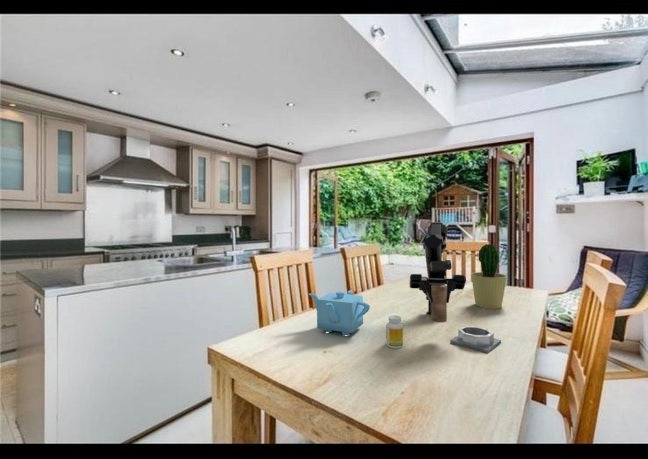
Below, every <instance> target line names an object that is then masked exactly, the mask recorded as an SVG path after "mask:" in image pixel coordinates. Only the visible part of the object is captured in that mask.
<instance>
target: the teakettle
mask: <svg viewBox="0 0 648 459" xmlns="http://www.w3.org/2000/svg"><path fill="white" fill-rule="evenodd" d="M353 292H354V291H353V290H352V289H350V290H348V291H347V293H346V292H345V291H341V290H340V291H336V292H329V293H327V294H325V295H323V296H321V297H319V296H318V295H317V294H315V293H308V295H309V296H310V297H311V298H312V299H313V301H314V306H315V310H316V328H317V329H319V330H324V332H325V331H326V332H332V333H333V331H334V332H341V335H342V334H343V335H349V334H350V335H351V334H354V333H355V332H356V331H357V330H358V329H359V328H360V327H361V326H362V325H363V324H364V316H365V315H366V314H368V312H369V310H370V308H371V306H370V304H369V303H367V302H364V296H363V295H357V294H353Z"/></svg>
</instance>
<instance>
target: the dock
mask: <svg viewBox="0 0 648 459" xmlns="http://www.w3.org/2000/svg"><path fill="white" fill-rule="evenodd" d="M457 331H458V335H457V336H455V337H453V338H451V339H450V340H449V342H450V344H453V345H457V346H459V347H463V348H467V349H471V350H475V351H477V352H478V351H479V352H481V353H486V354H489V353H490V352H491V351H492V350H494V349H495V348H496V347H498V346H499V345H500V344H502V340H501V339H499V338H495V337H494V336H495V335H494V334H495V333H494V332H493V331H491V330H489V329H488V328H485V327H479V326H475V325H473V326H471V325H470V326H467V325H466V326H465V325H464V326H462V327H459V328H458V329H457Z"/></svg>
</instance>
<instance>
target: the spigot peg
mask: <svg viewBox="0 0 648 459" xmlns="http://www.w3.org/2000/svg"><path fill="white" fill-rule="evenodd" d="M431 295H432V303H431V314H430V316H431V318H430V321H432V322H435V323H447V317H448V316H447V315H448V314H447V310H448V308H447V307H448V306H447V304H448V303H447V285H446V284H445V285H440V284H434V285H431Z"/></svg>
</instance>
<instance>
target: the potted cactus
mask: <svg viewBox="0 0 648 459" xmlns="http://www.w3.org/2000/svg"><path fill="white" fill-rule="evenodd" d="M497 250H498V248H497V247H495V246H494V244H493V243H490V244H489V243H488V244H487V243H485V244H484V245H482V246H481V247H480V249H479V251H478V255H476V256H477V257H478V259H476V261H478V263H480V269H481V271H479V272H478V271H477V272H471V273H470V275H471V283H472V290H473V296H474V303H475V306H477V307H479V308H484V309H493V310H494V309H501V308H502V306H503V302H504V301H503V300H504V296H505V288H506V283H507V277H508V276H507V274H504V273H499V272H498V266H499V264H500V263H499V262H501V261H500V260H501V259H500V255H499V251H497Z"/></svg>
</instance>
